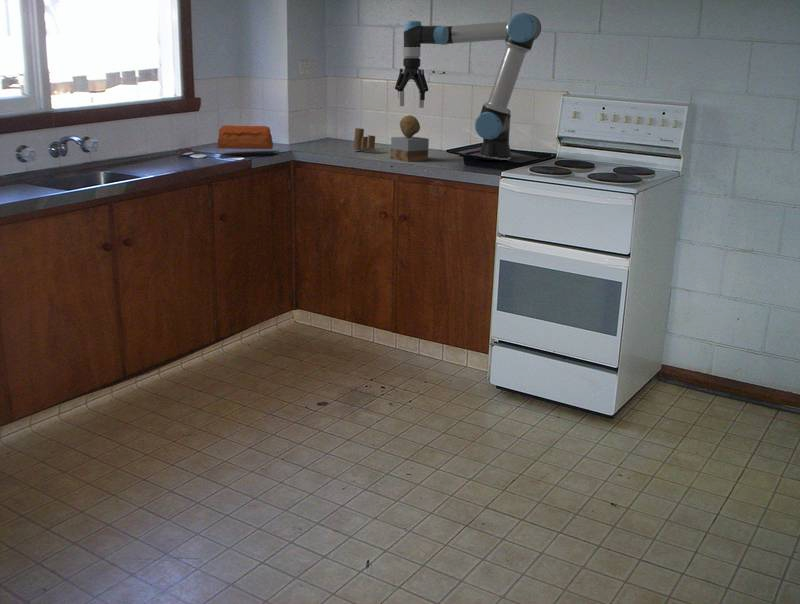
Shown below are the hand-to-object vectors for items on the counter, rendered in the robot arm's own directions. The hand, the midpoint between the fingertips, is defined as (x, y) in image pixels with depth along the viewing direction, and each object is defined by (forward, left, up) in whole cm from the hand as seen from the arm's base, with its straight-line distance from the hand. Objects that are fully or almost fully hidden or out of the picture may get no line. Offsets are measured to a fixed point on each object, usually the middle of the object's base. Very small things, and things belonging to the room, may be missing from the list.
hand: (411, 107), depth 392 cm
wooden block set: (+39, -3, -24) cm, 46 cm away
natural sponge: (0, 0, -14) cm, 14 cm away
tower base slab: (0, 0, -24) cm, 24 cm away
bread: (+76, +41, -24) cm, 90 cm away
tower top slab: (0, 0, -19) cm, 19 cm away
